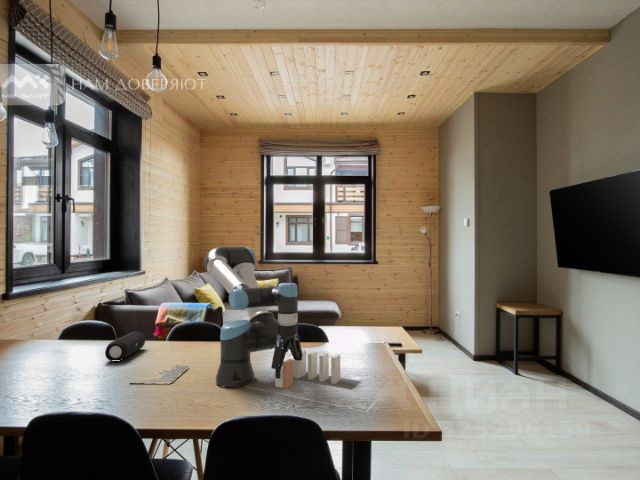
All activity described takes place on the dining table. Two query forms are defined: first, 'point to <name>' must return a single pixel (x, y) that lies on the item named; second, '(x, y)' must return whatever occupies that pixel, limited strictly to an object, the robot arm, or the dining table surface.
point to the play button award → (168, 376)
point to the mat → (342, 383)
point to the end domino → (287, 373)
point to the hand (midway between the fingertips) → (287, 381)
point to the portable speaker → (125, 346)
